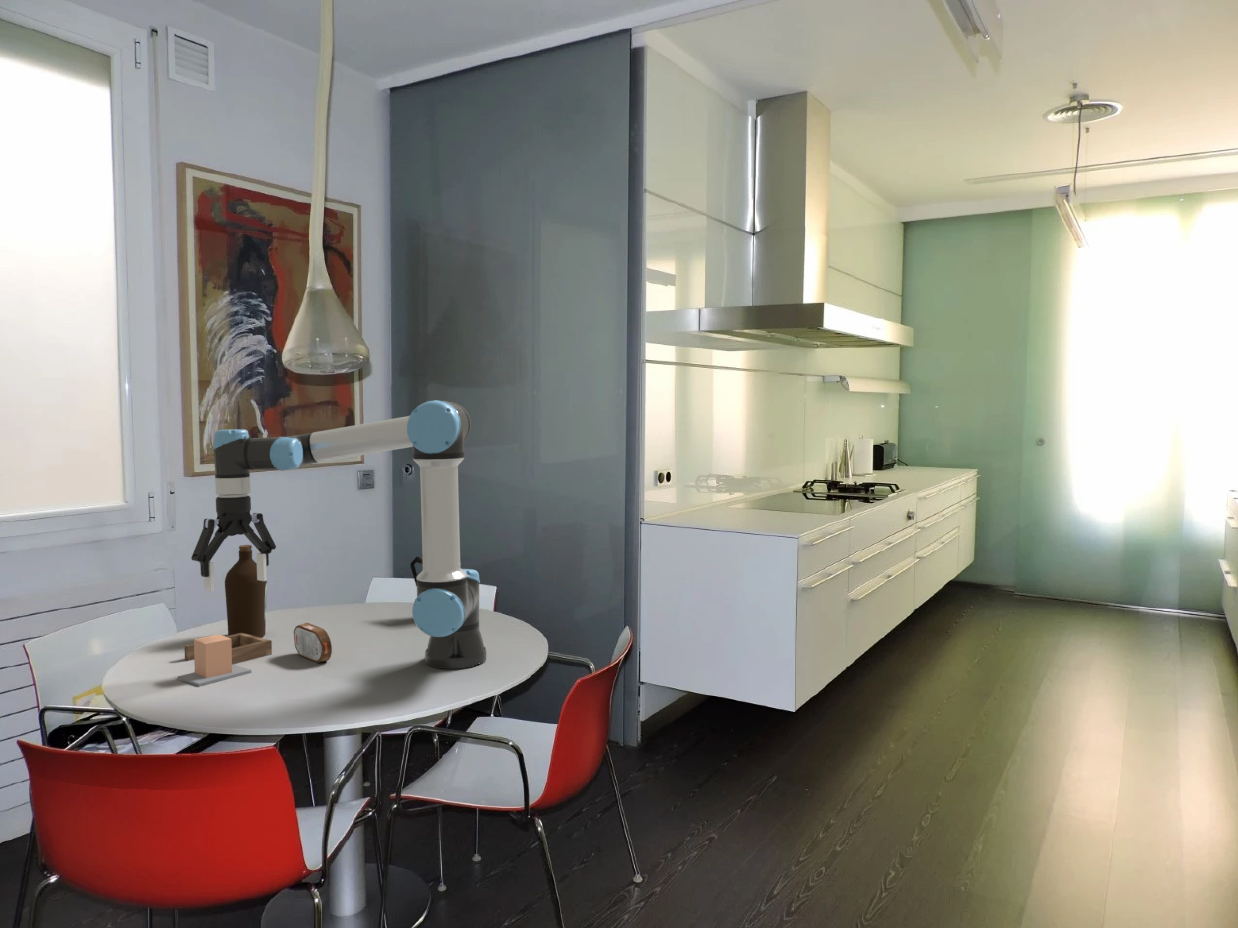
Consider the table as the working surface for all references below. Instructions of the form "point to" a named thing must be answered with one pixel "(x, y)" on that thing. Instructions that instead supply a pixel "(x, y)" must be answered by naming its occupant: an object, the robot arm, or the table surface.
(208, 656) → the block
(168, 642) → the table surface
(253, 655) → the bay
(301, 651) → the tin
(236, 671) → the mat
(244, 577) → the olive oil
